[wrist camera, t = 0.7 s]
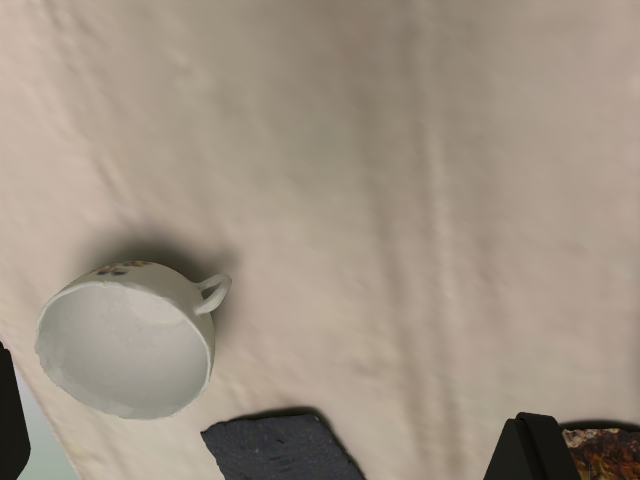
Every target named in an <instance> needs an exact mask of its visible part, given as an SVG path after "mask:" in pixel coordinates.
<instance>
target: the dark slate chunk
mask: <svg viewBox="0 0 640 480" xmlns="http://www.w3.org/2000/svg"><path fill="white" fill-rule="evenodd" d="M200 433H201V436H202V438H203V441H204V442H205V443H206V446H207V448H208V449H209V451H210V452H211V453H212V455H213V456H214V457H215V459H216V462H217V465H218V466H219V468H220V471H221V472H222V474H223V475H224V477H225V480H363V479H362V478H361V476H360V474H359V472H358V471H357V469H356V467H355V466H354V465H353V464H352V463H351V462H350V461H349V460H348V458H347V455H346V454H345V453H344V452H343V451H342V449H341V448H340V447H339V446H338V444H337V442H336V441H335V440H334V439H333V438H332V435H331V434H330V432H329V430H328V429H327V427H326V426H325V425H324V424H323V423H322V422H321V421H320V420H319V419H318V418H317V417H316V416H314V415H312V414H306V415H299V416H283V417H276V418H271V417H269V418H265V419H260V420H255V421H252V420H237V421H234V422H228V423H219V424H216V425H215V426H213V427H210V428H209V429H208V430H207V432H200Z"/></svg>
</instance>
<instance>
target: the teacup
mask: <svg viewBox="0 0 640 480" xmlns="http://www.w3.org/2000/svg"><path fill="white" fill-rule="evenodd" d="M218 283H221V284H220V286H219V287H218V288H217V289H216V290H215V291H214V292H213V293H212V295H210V296H209V297H208V298H207V299H206V300H204V299H203V297H202V294H201V292H202V291H203V290H205V289H207V288H209V287H213V286H214V285H216V284H218ZM231 283H232V279H231V278H230V276H229V275H227V274H223V273H218V274H216V275H214V276H212V277H210V278H208V279H206V280H205V281H202V282H200V283H193V282H191V281H189V280H187V279H186V278H185V277H184V276H183V275H181V274H180V273H178V272H177V271H175V270H173V269H171V268H169V267H166V266H163V265H160V264H157V263H152V262H146V261H125V262H118V263H114V264H110V265H106V266H103V267H100V268H98V269H95V270H93V271H91V272H89V273H87V274H85V275H83V276H81V277H79V278H78V279H76V280H74V281H73V282H71V283H70V284H69V285H67V286H66V287H64V288H63V289H62V290H61V291H59V292H58V293H57V294H56V295H54V296H53V297H52V298H51V299H50V300H49V301H48V302H47V303H46V304H45V306H44V307H43V309H42V311H41V314H40V316H39V318H38V319H37V321H36V325H37V329H36V341H35V346H34V348H35V351H36V354H37V355H39V357H40V365H41V366H42V368H43V370H44V373H46V374H47V375H48V376H49V377H50V380H51V381H52V382H53V383H54V384H55V385H56V386H57V387H60V388H61V389H63V390H64V391H65V392H67V393H68V394H69V395H71V396H72V397H73V398H75V399H76V400H78V401H80V402H81V403H83V404H85V405H87V406H89V407H91V408H93V409H95V410H98V411H101V412H103V413H106V414H111V415H116V416H119V417H120V418H124V419H134V420H148V421H153V420H162V419H165V418H168V417H172V416H174V415H177V414H179V413H180V412H182V411H183V410H185V409H187V408H189V407H190V406H191V405H192V404H193V403H194V402H195V401H197V400H198V399H199V398H200V396H201V395H202V393H203V392H204V390H205V388H206V386H207V385H208V383H209V380H210V376H211V372H212V368H213V362H214V354H215V334H214V326H213V322H212V317H211V314H210V311H212V310H214V309H215V308H217V307H218V306H219V304H220V303H221V301H222V300H223V298H224V297H225V295H226V293H227V292H228V290H229V288H230V286H231Z"/></svg>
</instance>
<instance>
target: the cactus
mask: <svg viewBox="0 0 640 480" xmlns="http://www.w3.org/2000/svg"><path fill="white" fill-rule="evenodd" d="M562 434H563V437H564V439H565V441H566V444H567V446H568V448H569V451H570V453H571V455H572V458H573V460H574V462H575V465H576V467H577V470H578V472H579V474H580V477H581V479H582V480H640V432H632V433H628V432H626V431H624V430H622V429H609V430H608V429H600V430H596V429H591V430H589V429H585V430H584V431H581V430H574V431H568V430H566V429H564V430H563V431H562Z"/></svg>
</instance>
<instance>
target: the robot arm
mask: <svg viewBox="0 0 640 480" xmlns="http://www.w3.org/2000/svg"><path fill="white" fill-rule="evenodd" d="M30 450H31V447H30V442H29V437H28V432H27V427H26V423H25V418H24V414H23V409H22V404H21V400H20V395H19V390H18V386H17V381H16V376H15V372H14V367H13V362H12V358H11V354H10V351H9V350H8V349H4V347H3V344H2V342H1V341H0V480H16V479H17V478H18V476H19V475H20V474H21V472H22V471H23V469H24V468H25V466H26V464H27V462H28V459H29V456H30ZM483 480H582V479H581V477H580V474H579V472H578V470H577V467H576V465H575V462H574V460H573V458H572V455H571V453H570V451H569V448H568V446H567V444H566V441H565V439H564V437H563V434H562V432H561V430H560V427H559V425H558V423H557V421H556V420H555V418H554V417H552V416H547V415H540V414H533V413H525V412H520V413H518V414H517V416H516V418H515V419H508V420H507V421H506V423H505V425H504V428H503V430H502V433H501V435H500V438H499V441H498V443H497V446H496V448H495V451H494V453H493V456H492V459H491V461H490V464H489V466H488V469H487V471H486V474H485V476H484V479H483Z"/></svg>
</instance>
